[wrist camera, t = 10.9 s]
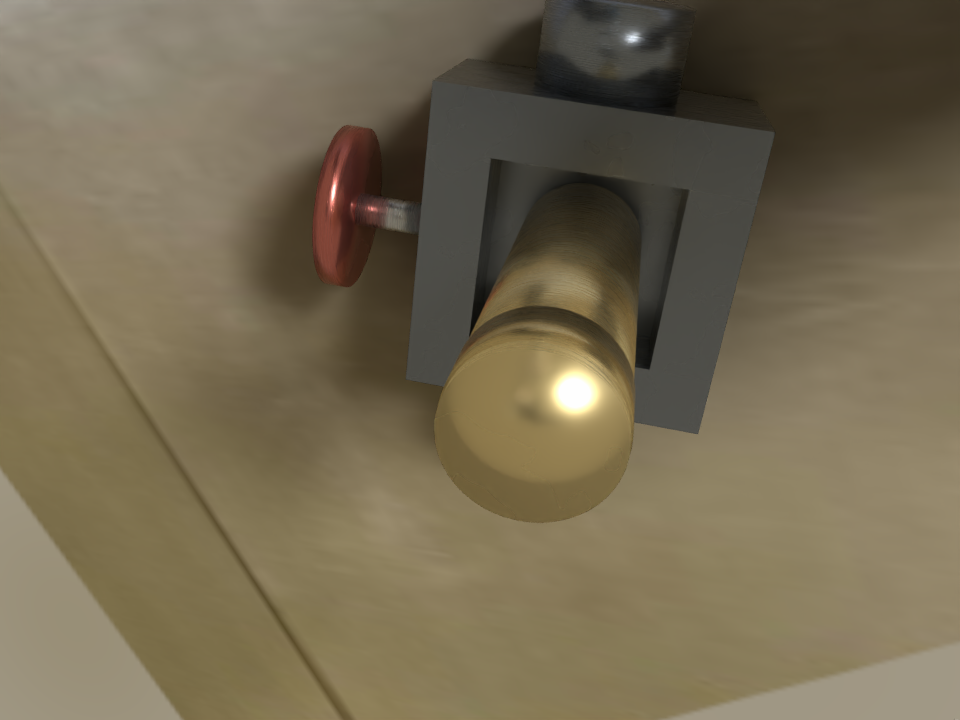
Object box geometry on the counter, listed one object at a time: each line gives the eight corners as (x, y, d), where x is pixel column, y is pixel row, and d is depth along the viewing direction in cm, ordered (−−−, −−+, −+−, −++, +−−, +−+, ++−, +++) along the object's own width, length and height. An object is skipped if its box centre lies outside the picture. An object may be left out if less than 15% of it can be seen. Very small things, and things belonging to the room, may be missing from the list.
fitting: (528, 172, 33) (441, 330, 20) (654, 192, 33) (651, 368, 20) (512, 289, 35) (423, 502, 22) (630, 309, 35) (612, 541, 22)
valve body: (379, -39, 34) (322, -34, 28) (777, 15, 33) (803, 33, 27) (354, 365, 42) (304, 435, 36) (677, 426, 40) (680, 509, 34)
